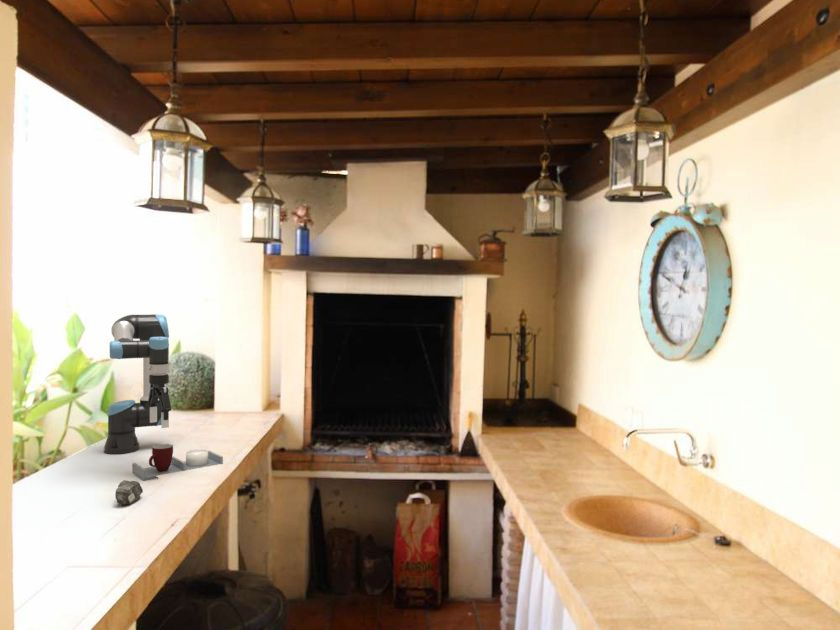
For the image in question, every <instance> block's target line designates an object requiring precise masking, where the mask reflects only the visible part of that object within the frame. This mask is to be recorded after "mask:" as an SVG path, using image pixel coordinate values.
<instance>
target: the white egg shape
mask: <svg viewBox="0 0 840 630" xmlns="http://www.w3.org/2000/svg"><path fill="white" fill-rule="evenodd" d="M208 451H209V450H207V449H194V450H193V449H192V450H191V449H190V450H188V451H186V452H185V461H186V465H187V466H203V465H206V464H208Z"/></svg>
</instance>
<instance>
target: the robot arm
mask: <svg viewBox="0 0 840 630" xmlns="http://www.w3.org/2000/svg"><path fill="white" fill-rule="evenodd" d="M111 335H112V337H113V340H112V341H110V342H109V358H110V359H111V360H113V359H114V360H122V359H123V360H126V359H127V360H128V359H143V360H142V361H143V363H142V364H143V367H142V368H143V369H142V370H143V371H142V376H143V377H142V379H143V380H142V381H143V385H142V386H143V387H142V391H143V395H142V397H141V396H140V398H139V402H136V400H134V399H126V400H120V401H115V402H113V403H110V404H109V406H108V408H107V424H108V425H107V438H106V440H105V443H104V446H103V452H104V453H105V454H109V455H123V454H129V453H133V452H136V451H138V450H140V443H139V440H138V437H137V435H136V428H144V427H157V426H161V429H165V428H169V427H170V412H171V411H172V406H171V401H170V395H169V387H168V386H165V385H166V384H167V385H168V384H170V383H169V382H170V380H169V379H170V378H169V377H170V375H169V372H170V363H169V361H170V360H169V357H170V356H169V355H170V350H169V349H170V343H169V342H170V341H169V338H170V331H169V325H168V320H167V317H166V316H165V315H163V314H156V313H155V314H128V315H125V316H122V317H120V318H119V319H117V320H115V322H114V323H113V324H112V326H111Z"/></svg>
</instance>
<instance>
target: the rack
mask: <svg viewBox="0 0 840 630" xmlns="http://www.w3.org/2000/svg"><path fill="white" fill-rule="evenodd" d="M207 451H208V464H206V465H203V466H187V465H186V460H185V461H183V460H181V459H179V458H177V457H176V456H172V461H171V465H170V467H169V469H168V470H167V471H162V472H160V471H157V469H156V467H152V466H150V467H146V468H145V467H143V466H141V465H139V464H137V463H136V462H132V463H131V464H132V465H131V466H132V471H131V472H132V474H133V475H134V476H136V477H137V478H139V479H140V480H142V481H144V482H146V481H150V480H151V481H152V480H156V479H159V477H158V476H163V475H167V474H173V473H174V474H175V473H179V472H183V471H184V472H185V471H190V470H195V469H201V468H205V467H212V466H218V465H223V463H224V456H223V455H220V454H218V453H216V452H213V451H212V450H207Z"/></svg>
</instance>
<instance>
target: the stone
mask: <svg viewBox="0 0 840 630" xmlns="http://www.w3.org/2000/svg"><path fill="white" fill-rule="evenodd" d="M143 491H144V490H143V487H142V486H141V483H140V482H139V481H135V480H127V479H123V480H122V481H120V482H119V484H118V485H117V488H116V490H115V495H114V496H115V499H116V501H117V505H118V506H125V505H131V504H132V503H133V502H136V501H137V500H138V499H139V498H140V497H141V495H142V493H144V492H143Z"/></svg>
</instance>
